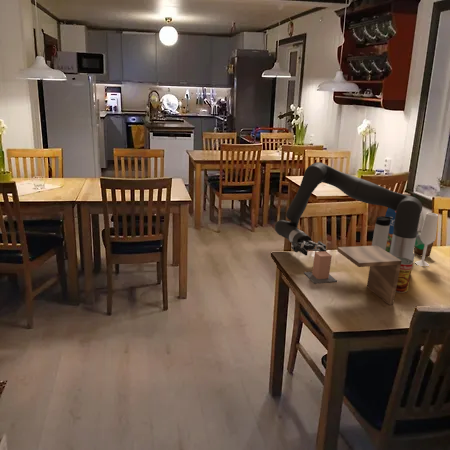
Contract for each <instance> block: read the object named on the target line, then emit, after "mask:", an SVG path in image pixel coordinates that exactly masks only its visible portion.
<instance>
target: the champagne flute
mask: <svg viewBox="0 0 450 450" xmlns="http://www.w3.org/2000/svg"><path fill="white" fill-rule="evenodd" d="M438 219H439V214H437V213H435V212H426V214H425V217H424V220H423V224H422V227H421V229H420V230H421V233H420V239H421V241H422V242H423V243H424V244H425V245H424V250H423V255H422V256H421V259H420V260H417V261H415V263H416V264H417V265H416V264H415V263H414V264H415V265H416V266H418V265H420V266H419V267H421V266H429V265H430V264H429V263H428V262H427V261H426V260H425V259H426V257H425V254H426V250H427V245H428V244H431V243H432V242H433V243H435V241H436V240H437V239H436V238H437V230H438V229H437V228H438ZM429 267H430V266H429Z"/></svg>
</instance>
